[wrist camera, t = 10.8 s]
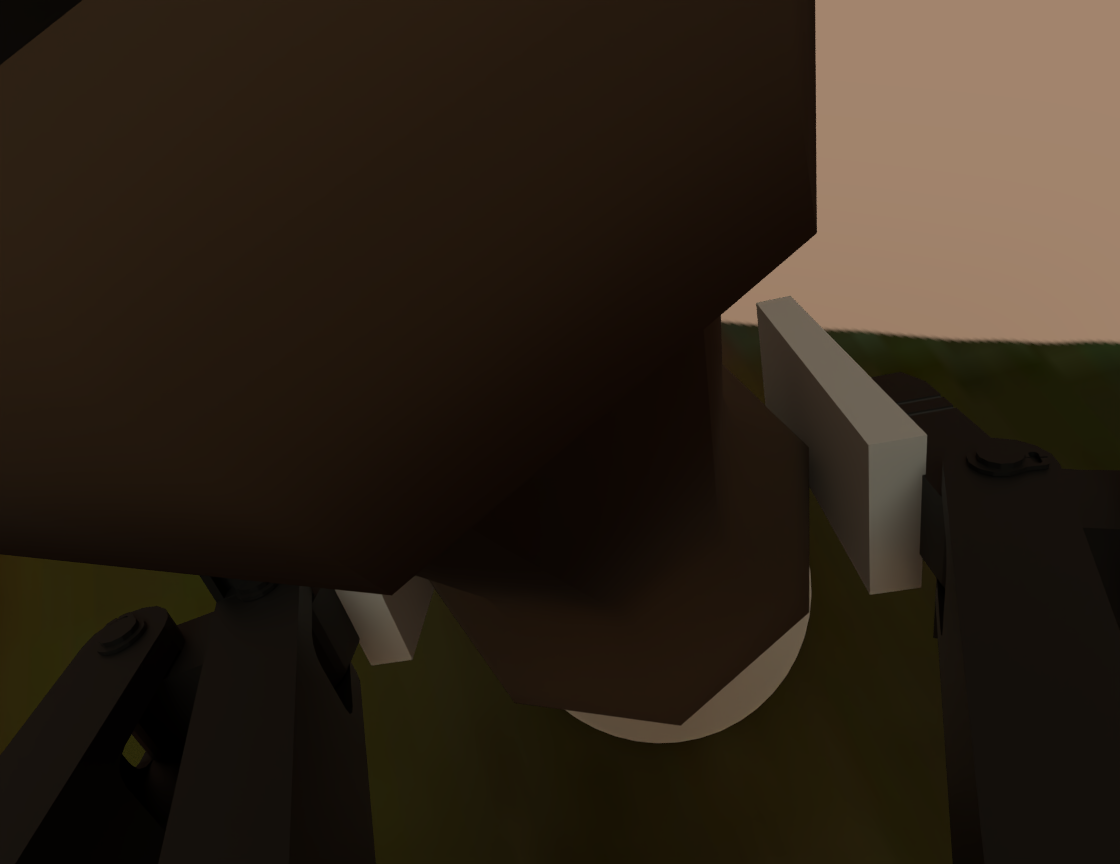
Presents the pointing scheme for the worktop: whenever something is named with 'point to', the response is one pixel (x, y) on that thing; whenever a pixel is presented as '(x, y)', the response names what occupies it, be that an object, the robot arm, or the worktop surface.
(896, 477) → the robot arm
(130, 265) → the beer bottle
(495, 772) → the worktop surface
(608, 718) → the dish
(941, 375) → the worktop surface
